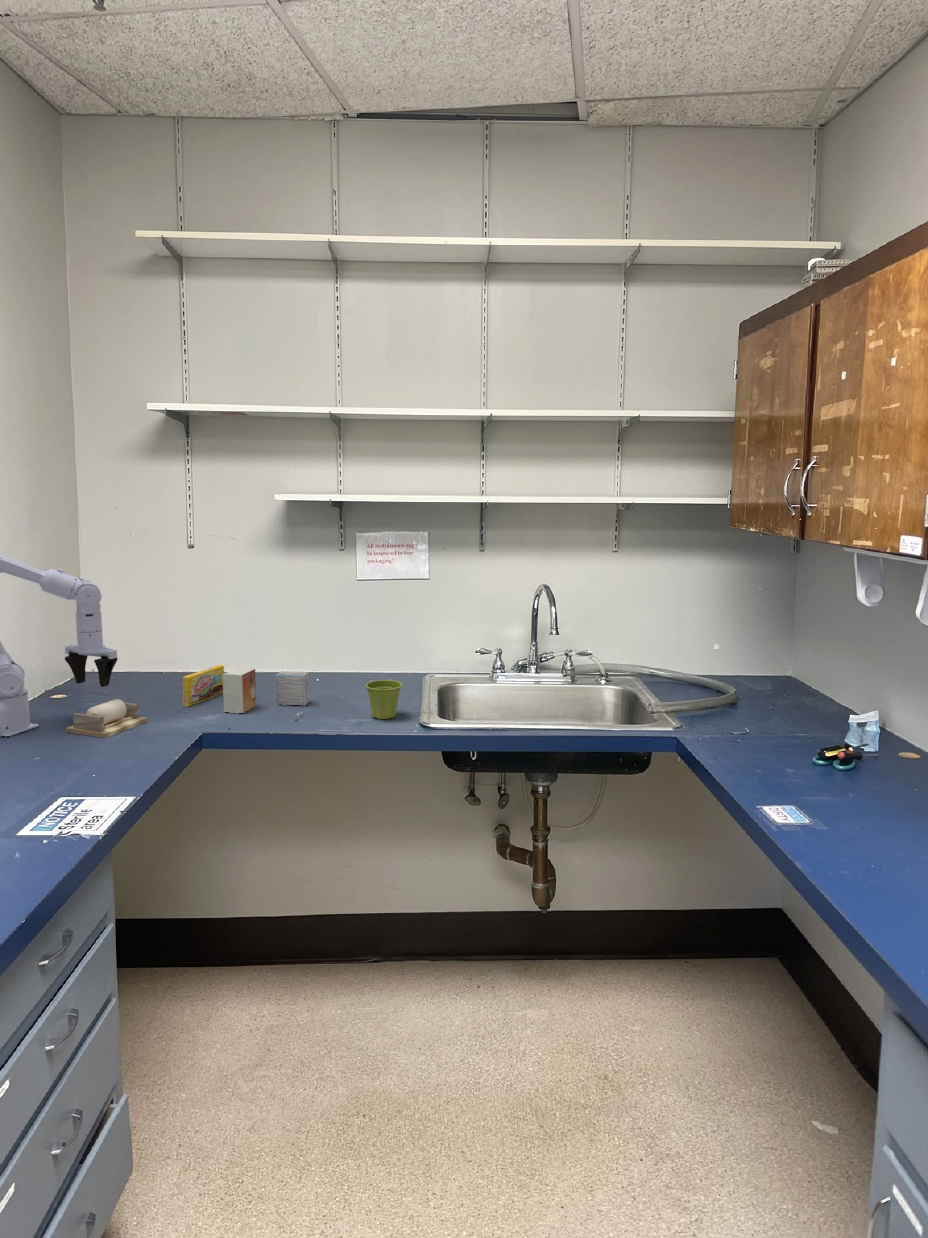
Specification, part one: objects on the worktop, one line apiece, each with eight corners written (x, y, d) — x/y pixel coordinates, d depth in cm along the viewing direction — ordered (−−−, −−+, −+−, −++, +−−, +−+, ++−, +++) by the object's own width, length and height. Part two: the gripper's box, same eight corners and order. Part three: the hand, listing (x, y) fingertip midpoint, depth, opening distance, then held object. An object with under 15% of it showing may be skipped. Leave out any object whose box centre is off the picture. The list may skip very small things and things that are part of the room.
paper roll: (103, 728, 195) (102, 708, 194) (86, 726, 196) (85, 706, 195) (127, 719, 202) (126, 700, 201) (111, 717, 204) (110, 698, 203)
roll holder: (106, 737, 191) (105, 719, 190) (65, 732, 195) (64, 714, 194) (147, 721, 204) (146, 704, 203) (108, 716, 208) (107, 699, 207)
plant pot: (396, 723, 206) (396, 690, 204) (360, 720, 208) (360, 687, 206) (406, 713, 215) (406, 681, 214) (372, 710, 217) (372, 678, 215)
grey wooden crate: (309, 702, 224) (309, 671, 223) (304, 706, 220) (304, 675, 218) (281, 701, 225) (281, 670, 223) (276, 705, 220) (275, 674, 219)
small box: (243, 714, 212) (241, 675, 210) (223, 713, 213) (221, 673, 211) (256, 706, 219) (255, 668, 218) (237, 705, 220) (236, 667, 219)
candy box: (189, 707, 218) (187, 677, 216) (182, 706, 218) (181, 676, 217) (225, 693, 233) (224, 664, 231) (218, 692, 233) (217, 664, 232)
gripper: (124, 630, 202) (127, 683, 204) (79, 625, 207) (82, 678, 209) (103, 635, 195) (106, 690, 198) (56, 630, 200) (60, 684, 202)
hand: (92, 684), depth 203 cm, fingers open, 7 cm apart
